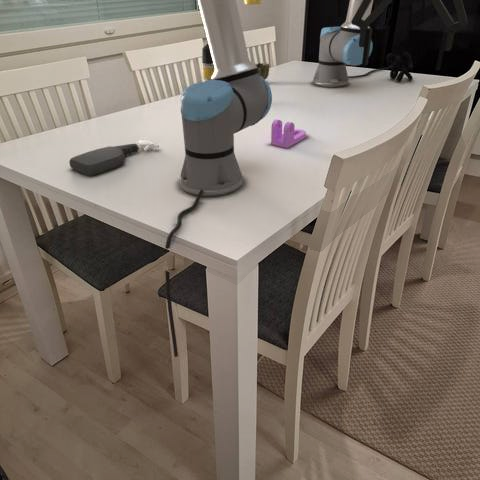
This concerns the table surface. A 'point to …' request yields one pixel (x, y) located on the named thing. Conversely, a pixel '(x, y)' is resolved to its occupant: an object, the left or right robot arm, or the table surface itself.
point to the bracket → (285, 134)
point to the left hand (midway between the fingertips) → (400, 67)
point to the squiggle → (399, 66)
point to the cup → (263, 70)
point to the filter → (207, 62)
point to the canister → (252, 1)
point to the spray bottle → (106, 157)
